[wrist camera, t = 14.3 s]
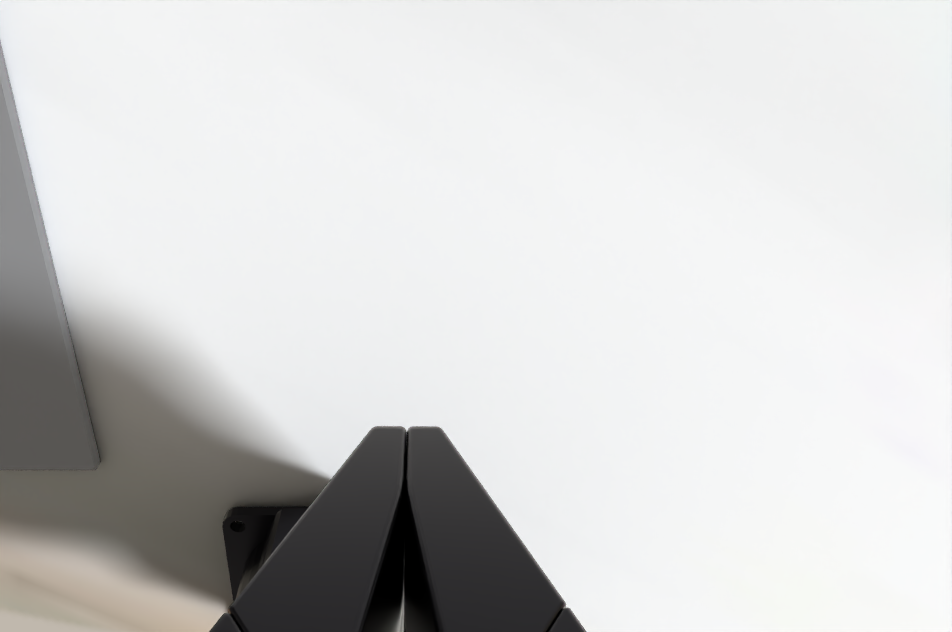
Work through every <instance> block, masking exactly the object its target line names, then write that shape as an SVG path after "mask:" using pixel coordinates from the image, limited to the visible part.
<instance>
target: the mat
mask: <svg viewBox="0 0 952 632" xmlns="http://www.w3.org/2000/svg"><path fill="white" fill-rule="evenodd" d="M99 464H100V458H99V453H98V449H97V445H96V441H95V437H94V432H93V428H92V424H91V420H90V416H89V411H88V407H87V403H86V399H85V395H84V390H83V386H82V382H81V378H80V374H79V370H78V365H77V361H76V357H75V353H74V349H73V344H72V340H71V336H70V332H69V328H68V323H67V319H66V315H65V311H64V307H63V302H62V298H61V294H60V290H59V286H58V281H57V277H56V273H55V269H54V265H53V260H52V256H51V252H50V248H49V244H48V240H47V235H46V231H45V227H44V223H43V219H42V214H41V210H40V206H39V202H38V198H37V193H36V189H35V185H34V181H33V177H32V172H31V168H30V164H29V160H28V156H27V151H26V147H25V143H24V139H23V135H22V130H21V126H20V122H19V118H18V114H17V110H16V105H15V101H14V97H13V93H12V89H11V84H10V80H9V76H8V72H7V68H6V63H5V59H4V55H3V51H2V47H1V42H0V470H96V469H97V467H98V465H99Z"/></svg>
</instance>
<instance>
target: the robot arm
mask: <svg viewBox="0 0 952 632" xmlns="http://www.w3.org/2000/svg"><path fill="white" fill-rule="evenodd" d="M235 521H241V522H243V523H242V524H241V523H237V522H235ZM223 533H224V540H225V546H226V553H227V560H228V567H229V574H230V581H231V587H232V594H233V601H234V602H233V603H232V604H231V606H230V607H229V608H228V613H224V614H223V615H222V616H221V617H220V619H219V620H218V621H217V623H216V624H215V625H214V626H213V628H212V629H211V630H210V631H209V632H586V631H585V629H584V628H583V626H582V625H581V623H580V622H579V621H578V619H577V618H576V616H575V615H574V613H573V612H572V611H571V609H570V608H566V603H565V601H564V600H563V599H562V597H561V596H560V594H559V593H558V591H557V590H556V589H555V587H554V586H553V584H552V583H551V582H550V580H549V579H548V577H547V576H546V575H545V573H544V572H543V570H542V569H541V568H540V566H539V565H538V563H537V562H536V561H535V559H534V558H533V556H532V555H531V554H530V552H529V551H528V549H527V548H526V546H525V545H524V544H523V542H522V541H521V539H520V538H519V537H518V535H517V534H516V532H515V531H514V530H513V528H512V527H511V525H510V524H509V523H508V521H507V520H506V518H505V517H504V516H503V514H502V513H501V511H500V510H499V508H498V507H497V506H496V504H495V503H494V501H493V500H492V499H491V497H490V496H489V494H488V493H487V492H486V490H485V489H484V487H483V486H482V485H481V483H480V482H479V480H478V479H477V478H476V476H475V475H474V473H473V472H472V471H471V469H470V468H469V466H468V465H467V463H466V462H465V461H464V459H463V458H462V456H461V455H460V454H459V452H458V451H457V449H456V448H455V447H454V445H453V444H452V442H451V441H450V440H449V438H448V437H447V435H446V434H445V433H444V431H443V430H442V429H441V428H440V427H427V426H413V427H410V428H409V429H408V431H407V432H406V429H405V428H404V427H401V426H376V427H374V428H372V429H371V430H370V431H369V432H368V434H367V435H366V436H365V437H364V439H363V440H362V441H361V443H360V444H359V445H358V446H357V448H356V449H355V450H354V451H353V453H352V454H351V455H350V456H349V458H348V459H347V460H346V461H345V463H344V464H343V465H342V466H341V468H340V469H339V470H338V471H337V473H336V474H335V475H334V476H333V478H332V479H331V480H330V481H329V483H328V484H327V485H326V486H325V488H324V489H323V490H322V491H321V493H320V494H319V495H318V496H317V498H316V499H315V500H314V501H313V503H312V504H311V505H310V506H296V507H234V508H232V509H230V510H228V512H227V513H226V515H225V518H224V521H223Z"/></svg>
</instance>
